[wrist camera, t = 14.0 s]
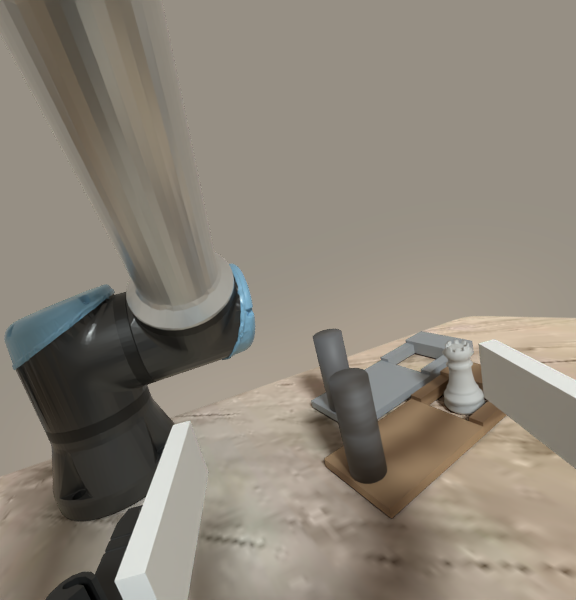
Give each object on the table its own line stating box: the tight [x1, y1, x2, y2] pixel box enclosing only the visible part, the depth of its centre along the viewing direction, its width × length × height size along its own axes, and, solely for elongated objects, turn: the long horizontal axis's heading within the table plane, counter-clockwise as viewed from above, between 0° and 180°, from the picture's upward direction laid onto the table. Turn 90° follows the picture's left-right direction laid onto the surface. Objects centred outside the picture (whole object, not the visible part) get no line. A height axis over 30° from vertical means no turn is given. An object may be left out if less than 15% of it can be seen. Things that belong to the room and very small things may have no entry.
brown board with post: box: [324, 363, 506, 519], centre depth 38 cm, size 9×24×11 cm, turn 123°
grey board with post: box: [311, 329, 473, 422], centre depth 49 cm, size 9×24×11 cm, turn 123°
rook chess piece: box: [442, 340, 485, 415], centre depth 41 cm, size 4×4×8 cm
